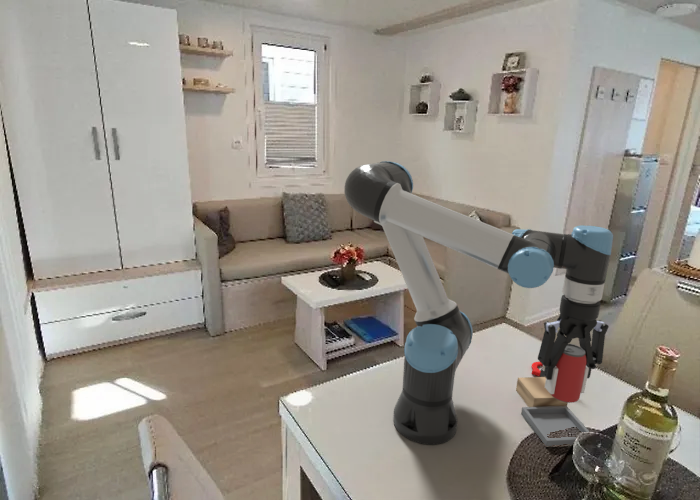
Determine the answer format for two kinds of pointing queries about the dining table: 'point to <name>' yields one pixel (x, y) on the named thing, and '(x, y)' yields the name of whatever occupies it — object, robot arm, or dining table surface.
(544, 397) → the block
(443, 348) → the robot arm
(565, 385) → the beer can
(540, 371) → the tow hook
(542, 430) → the charcoal tray
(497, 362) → the dining table surface
